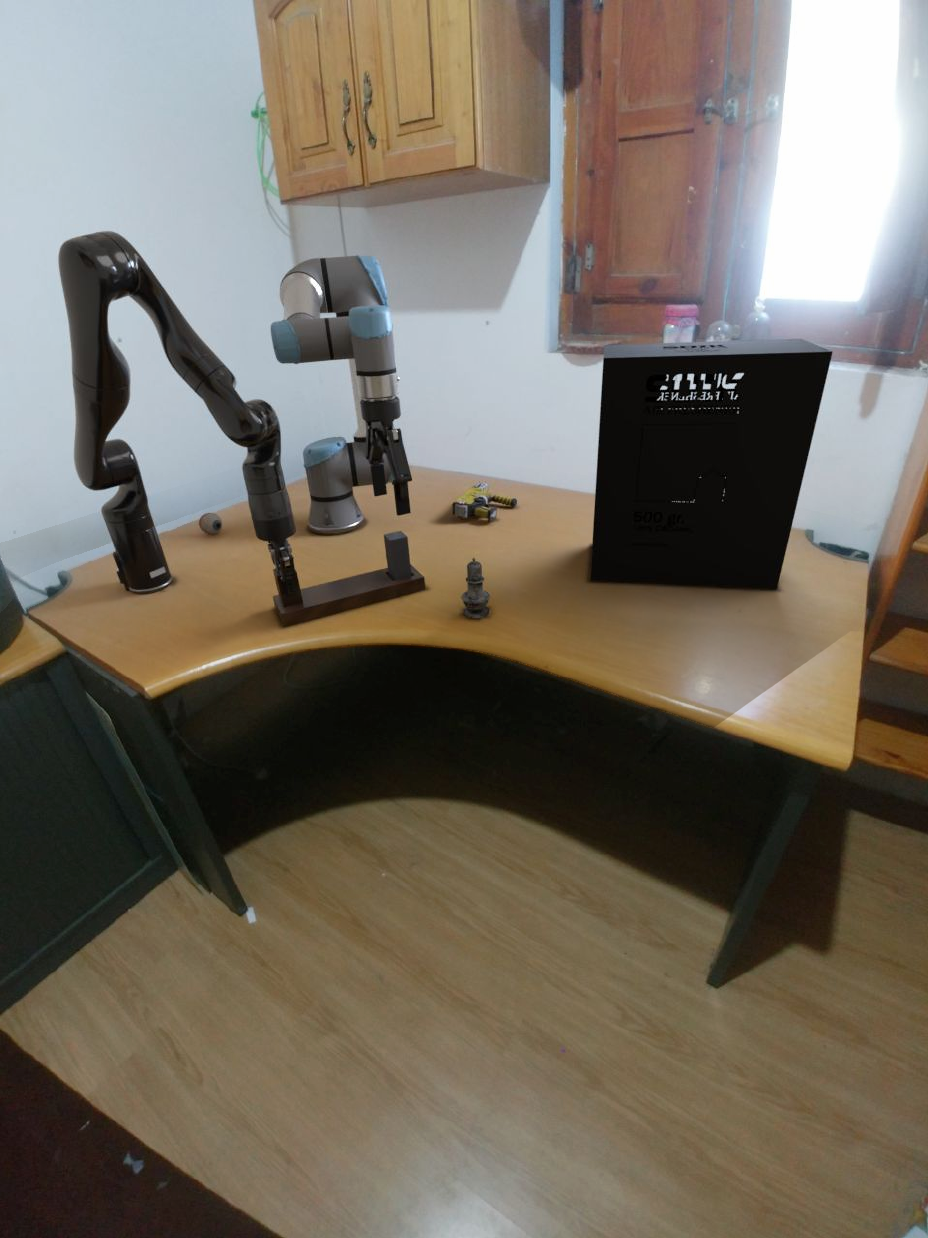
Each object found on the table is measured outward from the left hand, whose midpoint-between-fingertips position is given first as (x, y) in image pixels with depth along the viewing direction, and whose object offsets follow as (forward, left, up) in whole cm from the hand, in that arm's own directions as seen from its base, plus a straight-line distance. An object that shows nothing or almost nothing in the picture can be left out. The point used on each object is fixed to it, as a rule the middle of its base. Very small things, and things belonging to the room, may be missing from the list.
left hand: (289, 591), depth 123 cm
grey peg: (+20, +13, -5) cm, 25 cm away
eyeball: (-39, +44, -5) cm, 59 cm away
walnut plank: (+10, +6, -5) cm, 13 cm away
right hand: (+20, +13, +14) cm, 28 cm away
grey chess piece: (+38, +1, -5) cm, 39 cm away
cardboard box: (+82, +22, -5) cm, 85 cm away
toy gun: (+37, +62, -5) cm, 72 cm away
